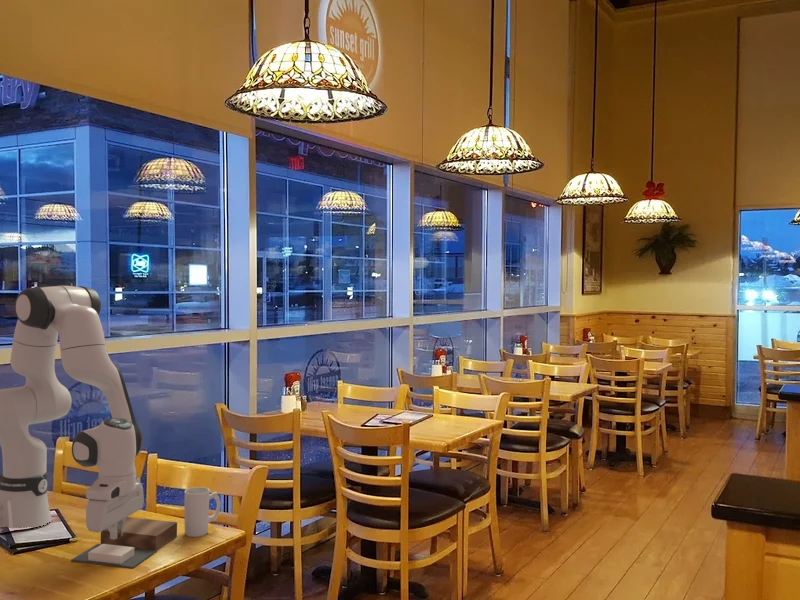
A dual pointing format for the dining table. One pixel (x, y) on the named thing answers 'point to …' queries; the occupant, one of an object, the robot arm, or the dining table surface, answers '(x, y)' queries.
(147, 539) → the riser board
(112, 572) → the dining table surface
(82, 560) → the bar mat
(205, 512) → the mug
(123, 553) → the grey flat block
